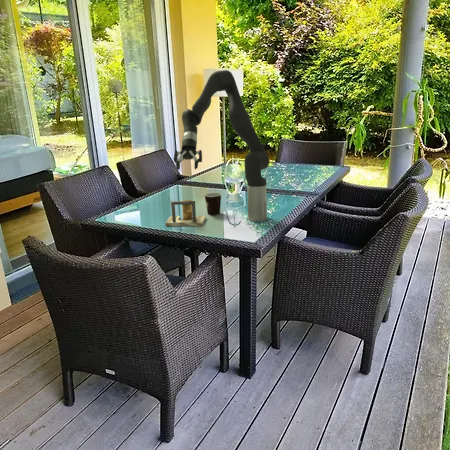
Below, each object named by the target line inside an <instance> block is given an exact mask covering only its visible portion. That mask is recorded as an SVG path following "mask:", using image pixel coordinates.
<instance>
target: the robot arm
mask: <svg viewBox="0 0 450 450" xmlns="http://www.w3.org/2000/svg"><path fill="white" fill-rule="evenodd" d="M222 91H223V92H224V91H225V94H226V95H227V98H228V101H229V102H228V105H229V107H228V120H229V122H230V124H231V127H232V129H233V131H234V132H235V134H236V135H237V136H239V138H240V139H241V140H242V141H243V142H244V143H245V144H246V145H247V148H248V149H249V151H250V152H249V153H247V154H246V155H245V157H244V174H245V175H244V177H245V181H246V183H247V185H246V187H247V192H246V193H247V218H248V221H251V222H263V221H267V219H268V201H267V200H268V198H267V179H266V177H263V176H262V170H266V169H267V168H269V165H270V157H269V154H268V152H267V151H266V149H265V147H264V145H263V144H262V142H261V140H260V137H259V136H258V134H257V131H256V129H255V127H254V125H253V122H252V120H251V118H250V116H249V113H248V111H247V109H246V107H245V105H244V101H243V100H242V97H241V95H240V92H239V89H238V86H237V82H236V79H235V76H234V75H233V73H232V72H231V71H230V70H229V69H228V70H226V69H224V70H216V71H214V72H212V73H211V74H210V75H209V77H208V78H207V81H206V83H205V85H204V88H203V90H202V92H201V94H200V95H199V97H198V98H197V99H196V100H195V102H194V103H193V104H192V107H191V108H190V109H189V108H186V109H184V110H183V112H182V114H181V120H182V124H183V126H182V127H183V136H182V142H181V148H180V151H178V150H177V149H176V150H174V155H173V162H174V163H176V168H177V169H178V171H180V170H181V163H182V162H183V161H184V160H185V161H187V160H190V161H191V160H193V161H194V170H197V169H198V168H199V163H202V162H203V151H202V150H201V149H199V150H197V144H198V126H199V125H200V124H201V123H202V119H203V116H204V115H205V113H206V112H207V110H208V109H209V108H210V106H211V105H212V104H211V103H212V97H213V96H214V95H215V94H217V92H222ZM196 155H197V156H198V157H196Z"/></svg>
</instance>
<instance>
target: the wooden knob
mask: <svg viewBox="0 0 450 450" xmlns="http://www.w3.org/2000/svg"><path fill="white" fill-rule="evenodd" d="M181 201H193V200H191V199H183V200H181ZM181 207H182V209H181V210H182V218H181V220H193V215H192V204H190V205H181Z"/></svg>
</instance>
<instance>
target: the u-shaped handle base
mask: <svg viewBox="0 0 450 450" xmlns="http://www.w3.org/2000/svg"><path fill="white" fill-rule="evenodd" d="M190 204H192V217H193V220H182V219H181V215H176V205H177V206H179V205H180V206H182V205H190ZM170 208H171V215H170V216H169V217H168V218H167V220H166V221H165V226H166V227H177V226H178V227H182V226H184V227H185V226H192V227H194V226H195V227H196V226H197V227H199V226H201V227H203V225H204V223H205V221H206V219H207V216H206V215H197V213H196V209H197V208H196V201H195V200H192V201H182V200H179V201H178V200H177V201H176V200H174V201H171V200H170Z"/></svg>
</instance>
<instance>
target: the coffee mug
mask: <svg viewBox="0 0 450 450" xmlns="http://www.w3.org/2000/svg"><path fill="white" fill-rule="evenodd" d="M204 199H205V206H206V211H207V214H208V215H209V216H217V215H220V214H221V206H222V205H221V203H222V194H221V193H220V192H210V193H209V192H208V193H205V194H204Z"/></svg>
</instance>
